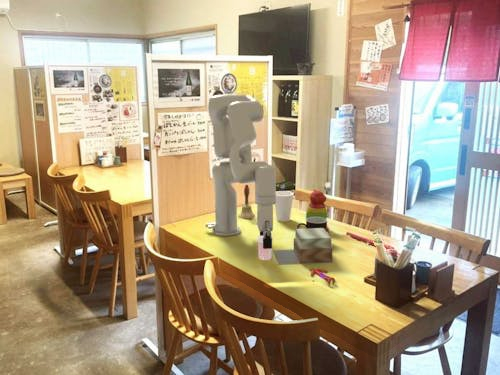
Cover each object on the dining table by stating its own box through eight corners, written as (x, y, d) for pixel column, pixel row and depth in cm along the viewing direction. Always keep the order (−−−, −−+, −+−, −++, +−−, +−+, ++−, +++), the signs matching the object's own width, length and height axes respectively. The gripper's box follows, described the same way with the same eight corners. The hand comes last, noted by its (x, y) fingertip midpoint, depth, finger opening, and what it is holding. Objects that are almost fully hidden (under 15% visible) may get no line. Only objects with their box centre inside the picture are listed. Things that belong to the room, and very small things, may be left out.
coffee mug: (328, 240, 190) (328, 217, 187) (324, 247, 182) (325, 224, 180) (300, 237, 193) (301, 215, 191) (296, 244, 186) (296, 221, 183)
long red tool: (389, 255, 176) (396, 249, 179) (388, 251, 175) (395, 245, 178) (343, 238, 195) (350, 233, 197) (342, 234, 194) (349, 229, 196)
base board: (278, 267, 163) (278, 264, 163) (272, 253, 176) (272, 250, 176) (332, 265, 165) (332, 262, 164) (322, 251, 178) (323, 248, 178)
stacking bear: (329, 232, 199) (331, 193, 195) (306, 232, 200) (307, 193, 195) (326, 225, 210) (327, 187, 206) (304, 224, 210) (305, 187, 206)
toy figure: (318, 270, 161) (318, 263, 161) (341, 283, 151) (341, 275, 151) (300, 275, 158) (300, 268, 157) (322, 288, 147) (322, 281, 147)
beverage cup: (263, 265, 165) (263, 228, 162) (253, 259, 170) (253, 224, 167) (276, 261, 169) (276, 225, 165) (266, 256, 173) (266, 221, 170)
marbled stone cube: (299, 262, 164) (300, 239, 162) (293, 250, 176) (294, 228, 174) (331, 261, 165) (332, 238, 163) (323, 249, 177) (324, 227, 175)
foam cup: (293, 222, 213) (294, 196, 210) (273, 222, 213) (274, 196, 210) (291, 216, 223) (292, 191, 219) (273, 216, 223) (273, 191, 220)
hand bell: (236, 214, 226) (236, 183, 222) (252, 213, 228) (252, 182, 224) (240, 219, 218) (240, 187, 215) (257, 218, 220) (257, 186, 217)
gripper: (252, 194, 171) (253, 236, 175) (257, 205, 155) (258, 252, 158) (272, 193, 172) (272, 236, 176) (279, 204, 155) (279, 251, 159)
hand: (265, 243), depth 167 cm, fingers open, 9 cm apart
